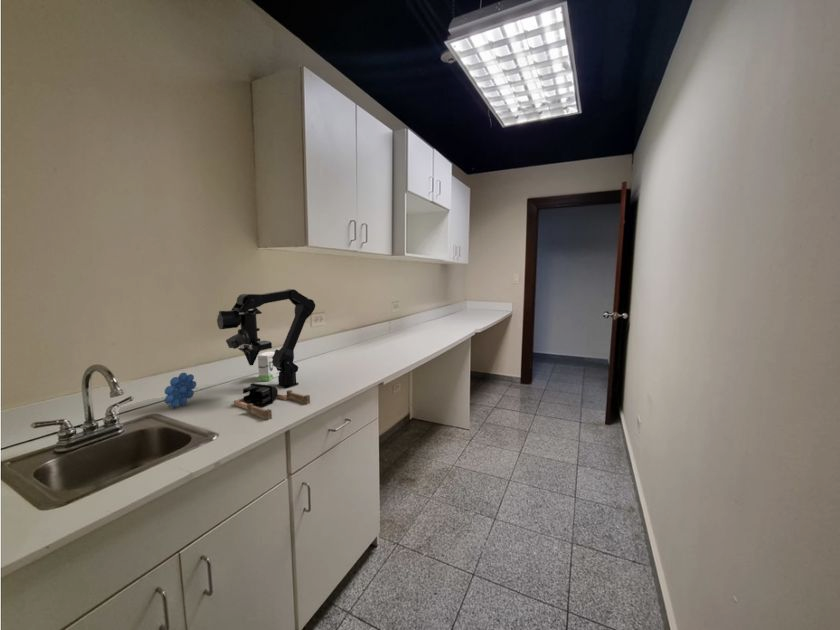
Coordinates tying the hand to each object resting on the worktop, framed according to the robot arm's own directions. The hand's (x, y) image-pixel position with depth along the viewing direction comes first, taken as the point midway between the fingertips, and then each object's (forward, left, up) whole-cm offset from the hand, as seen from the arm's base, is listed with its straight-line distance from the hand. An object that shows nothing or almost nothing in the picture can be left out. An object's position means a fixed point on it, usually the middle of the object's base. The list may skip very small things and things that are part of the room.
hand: (251, 365), depth 136 cm
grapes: (+21, -12, -12) cm, 27 cm away
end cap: (+4, +11, -12) cm, 17 cm away
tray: (+3, +10, -12) cm, 16 cm away
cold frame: (+3, +21, -12) cm, 25 cm away
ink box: (-17, -14, -12) cm, 25 cm away
